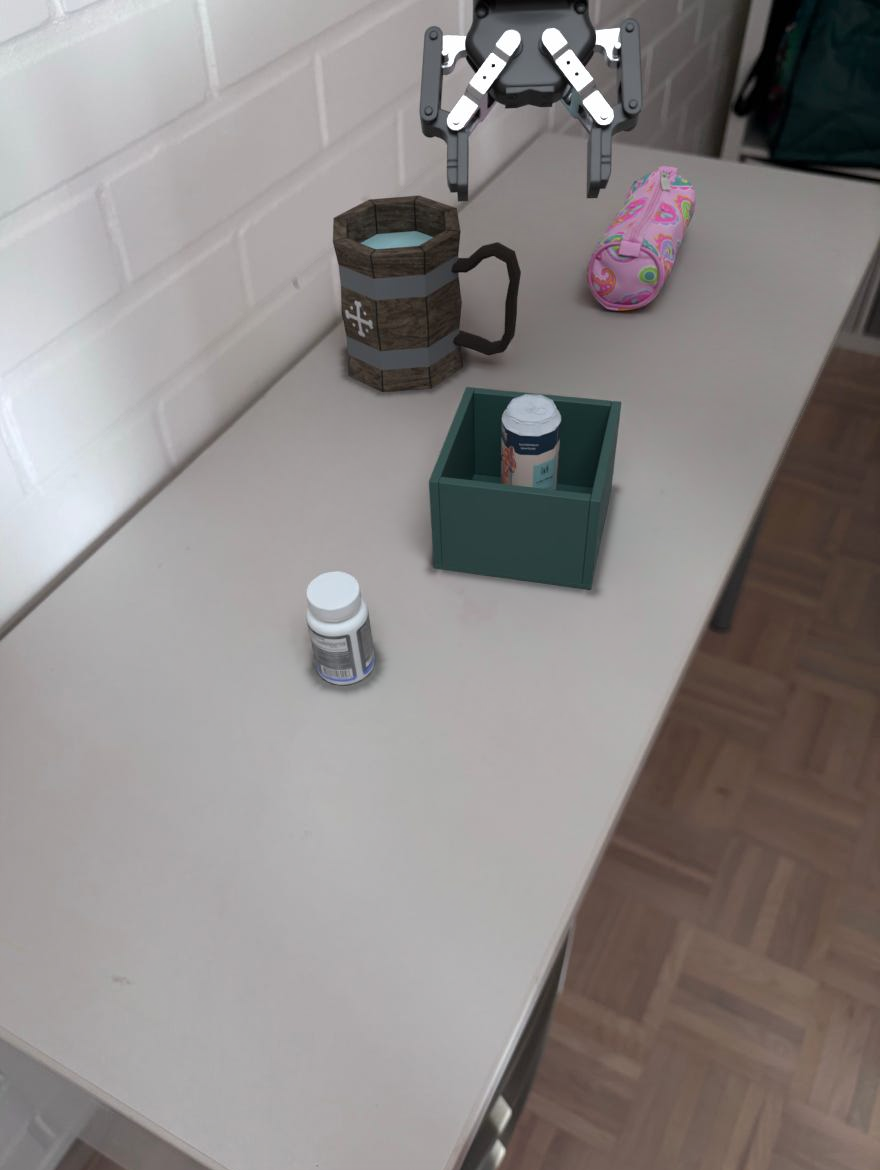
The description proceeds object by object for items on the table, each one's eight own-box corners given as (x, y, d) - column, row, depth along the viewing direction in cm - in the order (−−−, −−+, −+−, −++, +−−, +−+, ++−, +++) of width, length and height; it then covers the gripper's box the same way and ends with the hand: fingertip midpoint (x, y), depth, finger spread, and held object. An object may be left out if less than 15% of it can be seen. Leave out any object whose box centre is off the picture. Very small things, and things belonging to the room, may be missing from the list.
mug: (324, 382, 106) (305, 248, 95) (371, 319, 114) (358, 189, 103) (499, 410, 100) (501, 270, 89) (534, 342, 109) (540, 206, 98)
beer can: (512, 499, 90) (515, 386, 81) (561, 512, 88) (570, 397, 79) (492, 531, 87) (492, 417, 78) (542, 545, 85) (549, 430, 76)
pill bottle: (353, 633, 80) (341, 558, 74) (386, 666, 78) (377, 591, 72) (304, 661, 79) (289, 586, 72) (337, 696, 76) (324, 621, 70)
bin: (611, 488, 91) (621, 401, 84) (591, 589, 82) (600, 501, 75) (467, 472, 94) (466, 386, 87) (433, 568, 85) (428, 481, 78)
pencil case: (623, 229, 125) (631, 156, 119) (695, 237, 123) (707, 163, 116) (577, 311, 112) (583, 234, 106) (657, 323, 110) (667, 244, 103)
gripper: (417, -94, 60) (416, 175, 61) (652, -107, 59) (647, 168, 60) (425, -19, 68) (423, 220, 69) (633, -29, 67) (629, 214, 67)
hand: (528, 195), depth 64 cm, fingers open, 8 cm apart
